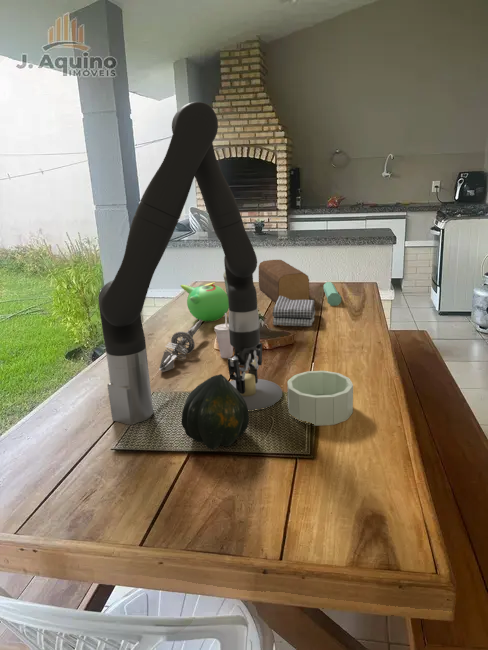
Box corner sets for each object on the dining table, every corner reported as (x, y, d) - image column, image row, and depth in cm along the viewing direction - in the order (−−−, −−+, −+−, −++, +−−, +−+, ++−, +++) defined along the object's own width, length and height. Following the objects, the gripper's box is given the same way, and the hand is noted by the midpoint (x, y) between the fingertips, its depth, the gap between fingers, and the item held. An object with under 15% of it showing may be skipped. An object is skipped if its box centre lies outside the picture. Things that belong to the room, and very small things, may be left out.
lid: (262, 418, 122) (261, 397, 120) (199, 404, 130) (197, 384, 129) (293, 389, 136) (293, 369, 135) (235, 378, 145) (234, 359, 143)
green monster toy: (236, 322, 194) (234, 284, 189) (193, 330, 188) (190, 291, 183) (220, 311, 210) (218, 276, 205) (180, 317, 204) (177, 281, 199)
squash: (175, 441, 102) (219, 380, 102) (165, 411, 116) (204, 358, 116) (229, 472, 108) (272, 414, 107) (213, 440, 122) (251, 389, 121)
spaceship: (214, 315, 177) (193, 306, 177) (177, 363, 146) (151, 352, 147) (208, 334, 180) (188, 325, 181) (170, 385, 149) (146, 374, 150)
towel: (271, 328, 186) (271, 307, 184) (277, 313, 204) (276, 294, 201) (314, 328, 184) (313, 307, 182) (315, 313, 201) (315, 294, 199)
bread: (286, 286, 245) (285, 257, 241) (310, 304, 214) (310, 270, 209) (258, 289, 243) (256, 259, 238) (278, 308, 211) (277, 273, 207)
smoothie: (234, 360, 157) (231, 316, 153) (214, 359, 159) (210, 316, 154) (238, 352, 163) (236, 310, 159) (219, 352, 165) (216, 310, 160)
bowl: (338, 430, 114) (339, 402, 112) (278, 417, 121) (277, 390, 119) (360, 402, 126) (360, 376, 124) (303, 392, 133) (303, 367, 131)
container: (324, 278, 232) (330, 290, 208) (336, 282, 232) (344, 295, 208) (319, 290, 233) (324, 303, 210) (331, 294, 234) (338, 308, 210)
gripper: (242, 336, 120) (246, 402, 125) (270, 319, 132) (272, 379, 137) (215, 333, 124) (220, 396, 129) (245, 316, 135) (248, 375, 140)
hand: (247, 387), depth 133 cm, fingers open, 6 cm apart
